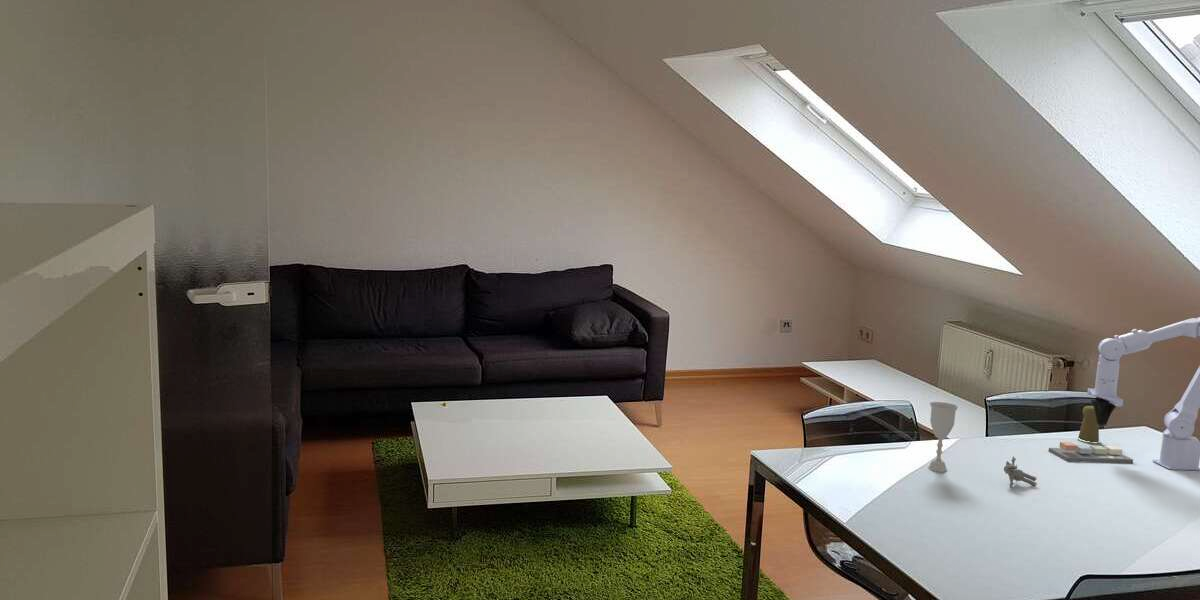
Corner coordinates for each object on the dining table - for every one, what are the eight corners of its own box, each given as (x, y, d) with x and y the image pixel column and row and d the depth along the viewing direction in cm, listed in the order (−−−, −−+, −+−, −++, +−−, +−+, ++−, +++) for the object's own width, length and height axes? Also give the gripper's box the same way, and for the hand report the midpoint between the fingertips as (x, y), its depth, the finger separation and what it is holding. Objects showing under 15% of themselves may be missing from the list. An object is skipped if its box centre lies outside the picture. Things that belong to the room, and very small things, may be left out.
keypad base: (1112, 452, 291) (1113, 448, 291) (1132, 462, 281) (1133, 458, 281) (1048, 450, 290) (1048, 447, 289) (1066, 461, 280) (1067, 457, 280)
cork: (1102, 443, 301) (1106, 409, 299) (1083, 442, 301) (1087, 408, 299) (1093, 438, 307) (1097, 404, 305) (1074, 437, 307) (1078, 403, 305)
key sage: (1099, 451, 287) (1100, 445, 287) (1106, 454, 284) (1107, 449, 284) (1088, 450, 287) (1089, 445, 287) (1095, 454, 284) (1096, 448, 283)
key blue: (1085, 450, 287) (1085, 445, 287) (1091, 453, 283) (1092, 448, 283) (1074, 450, 287) (1074, 445, 286) (1080, 453, 283) (1081, 448, 283)
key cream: (1114, 451, 287) (1115, 446, 287) (1121, 454, 284) (1122, 449, 284) (1103, 451, 287) (1104, 445, 287) (1110, 454, 284) (1111, 449, 284)
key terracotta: (1070, 447, 286) (1071, 442, 286) (1076, 450, 283) (1077, 445, 283) (1059, 447, 286) (1060, 441, 286) (1065, 450, 283) (1066, 445, 283)
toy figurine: (1041, 493, 250) (1008, 479, 250) (1027, 503, 254) (995, 489, 255) (1042, 462, 256) (1011, 448, 256) (1029, 472, 261) (998, 458, 261)
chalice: (921, 469, 265) (927, 405, 262) (925, 463, 271) (931, 400, 268) (949, 474, 261) (956, 409, 259) (953, 468, 267) (959, 404, 265)
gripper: (1079, 373, 291) (1074, 417, 293) (1108, 384, 276) (1103, 430, 278) (1102, 374, 291) (1097, 418, 293) (1132, 385, 277) (1126, 431, 279)
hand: (1101, 424), depth 286 cm, fingers closed
